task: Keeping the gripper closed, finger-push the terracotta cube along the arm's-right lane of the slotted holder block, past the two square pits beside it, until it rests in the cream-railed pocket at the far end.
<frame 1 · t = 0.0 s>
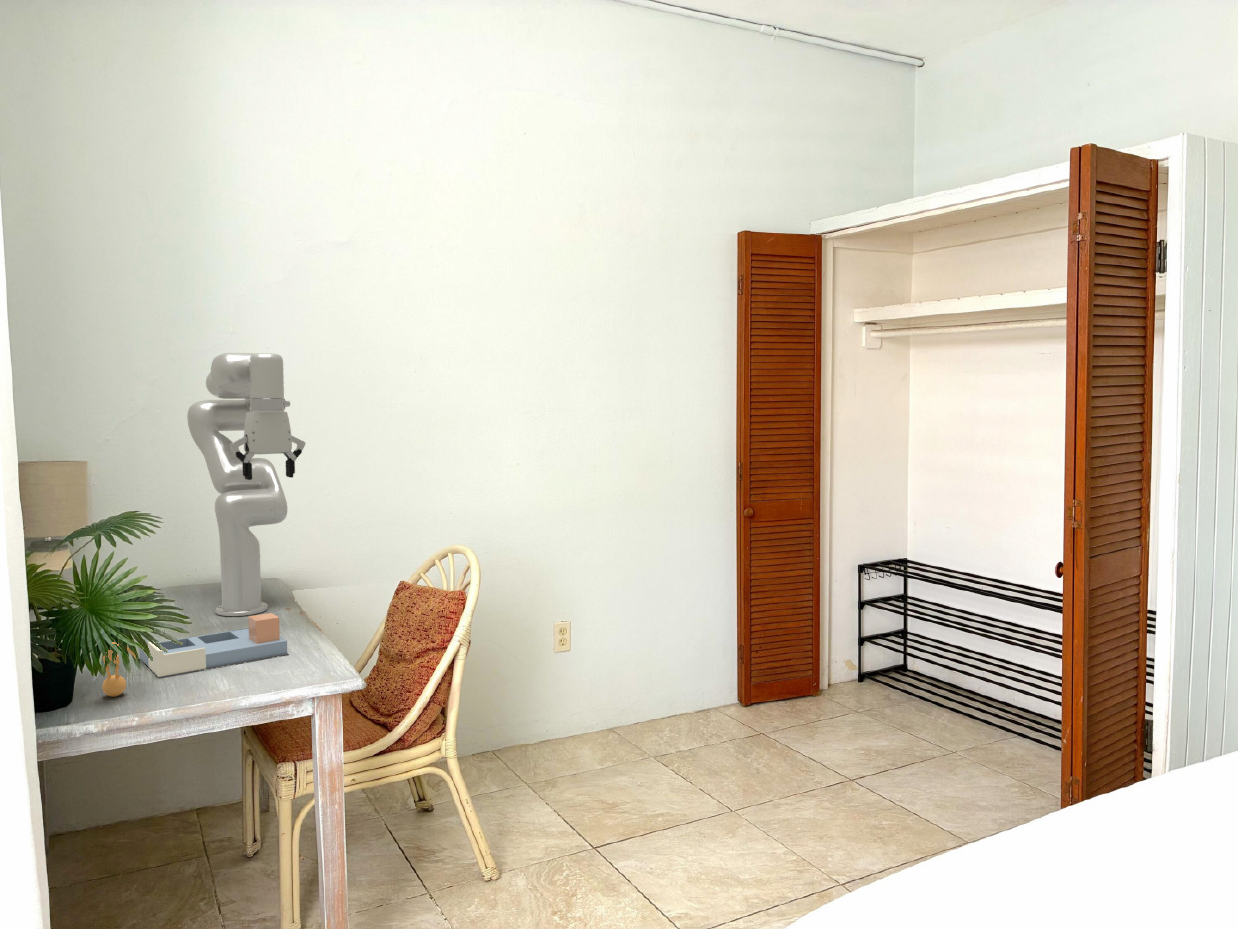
hand: (269, 478, 218), 37 cm above the table, tool pointing down, fingers open, 9 cm apart
cube: (264, 639, 202), point 3 cm above the table, touching slotted holder block
figurine: (113, 698, 173), on the table
slotted holder block: (214, 656, 200), on the table
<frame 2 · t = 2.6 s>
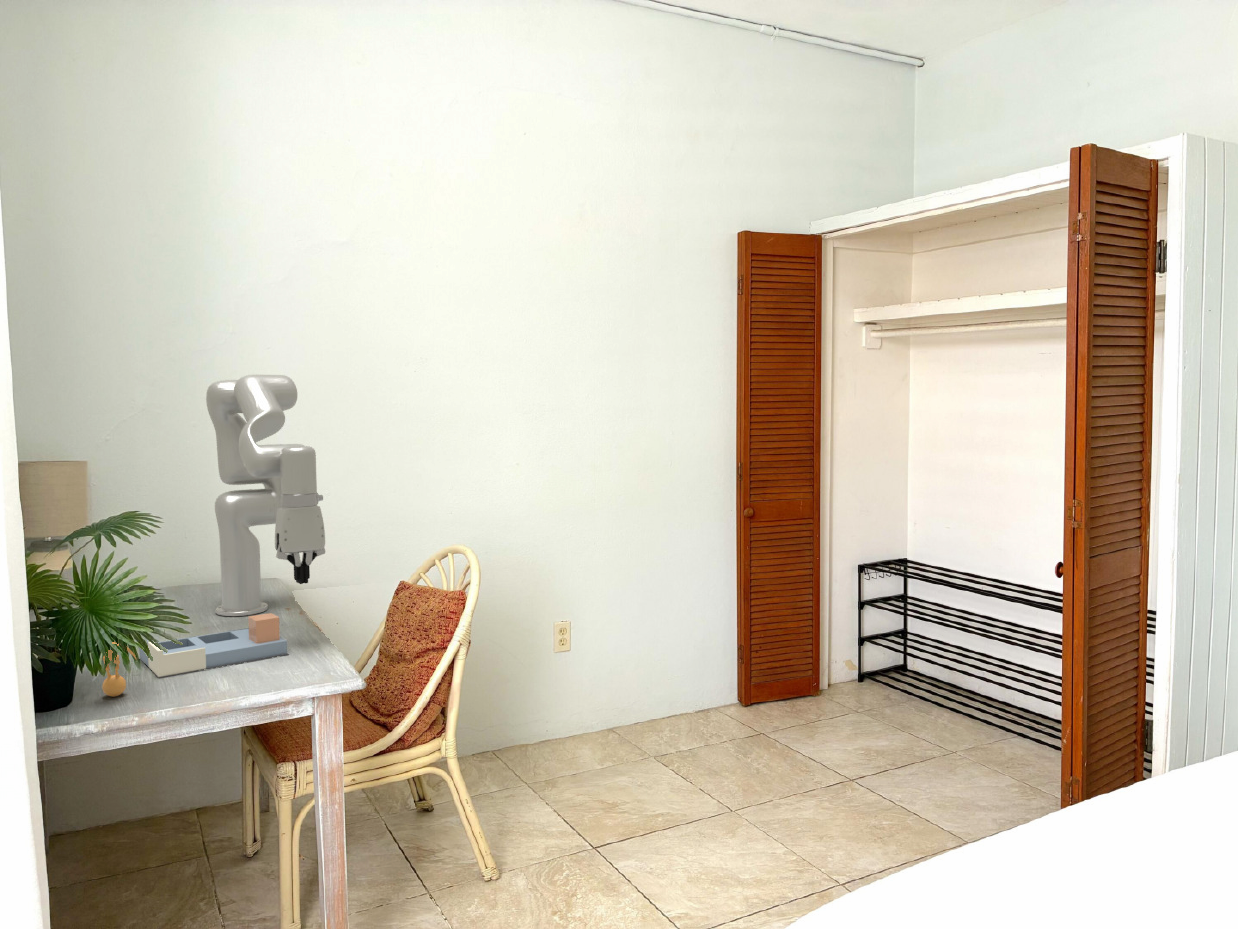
hand: (302, 582, 206), 15 cm above the table, tool pointing down, fingers closed
nothing on the table moved.
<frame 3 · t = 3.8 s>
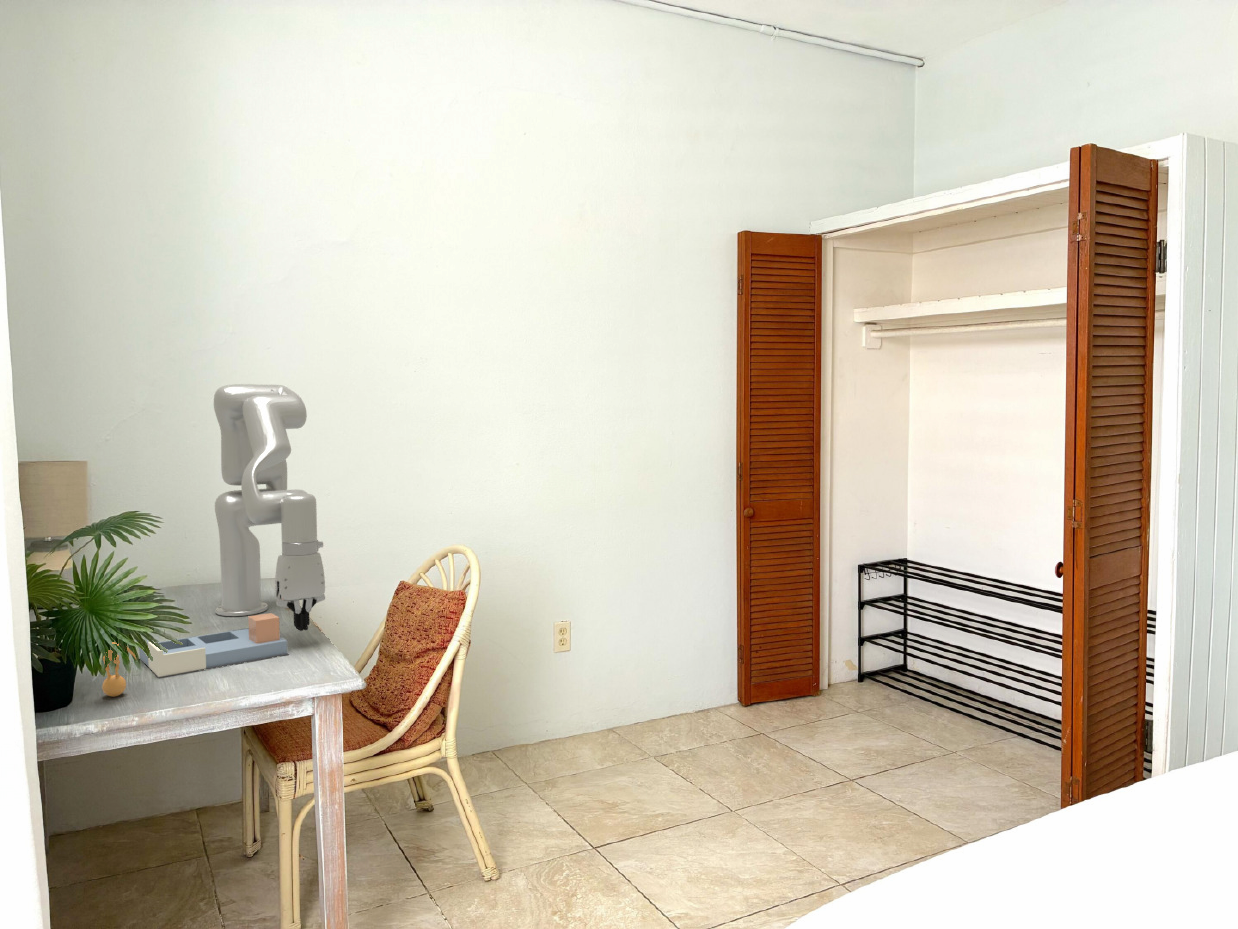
hand: (301, 629, 208), 4 cm above the table, tool pointing down, fingers closed
nothing on the table moved.
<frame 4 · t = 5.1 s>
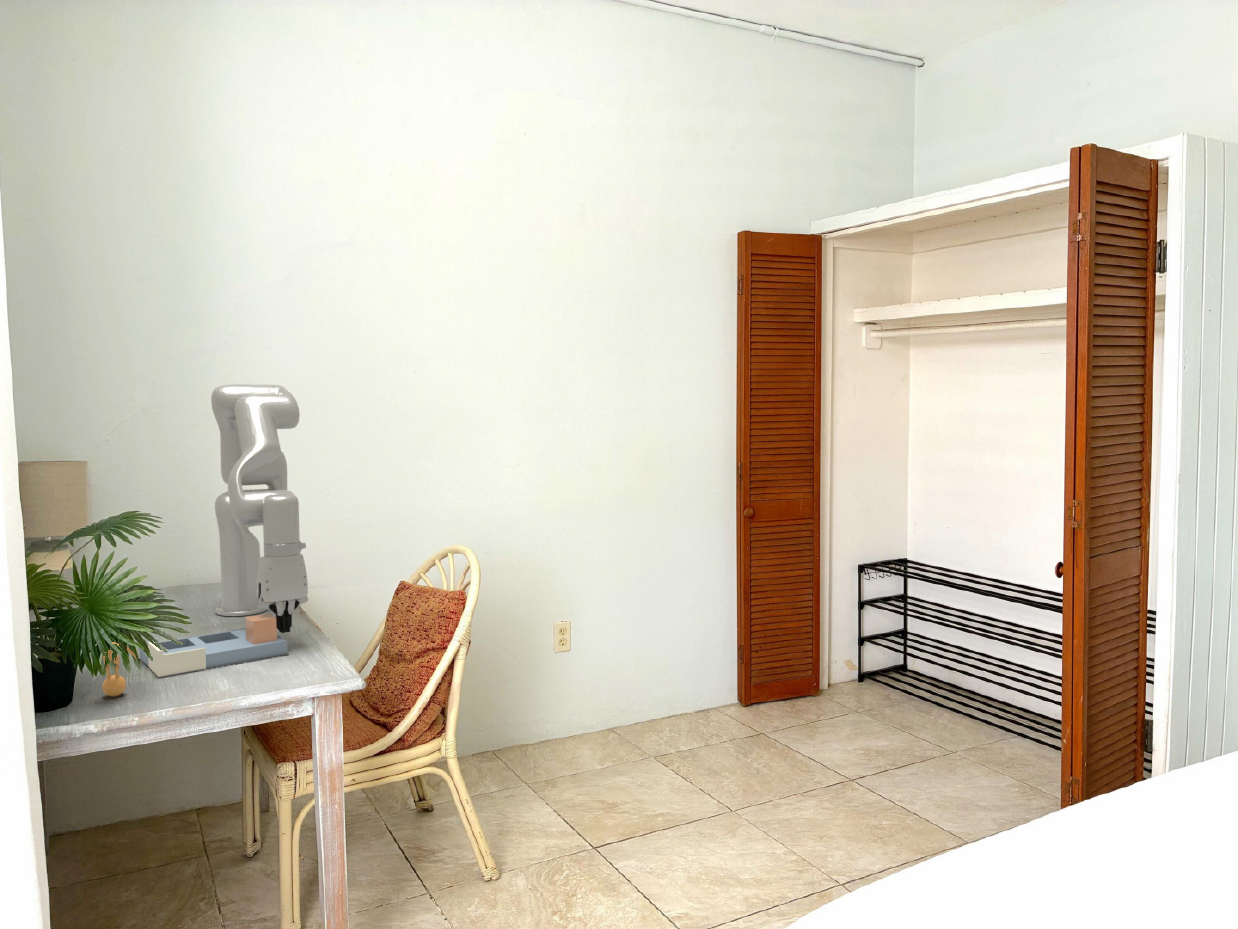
hand: (284, 631, 205), 4 cm above the table, tool pointing down, fingers closed
cube: (261, 639, 202), point 3 cm above the table, touching gripper
everything else where it was.
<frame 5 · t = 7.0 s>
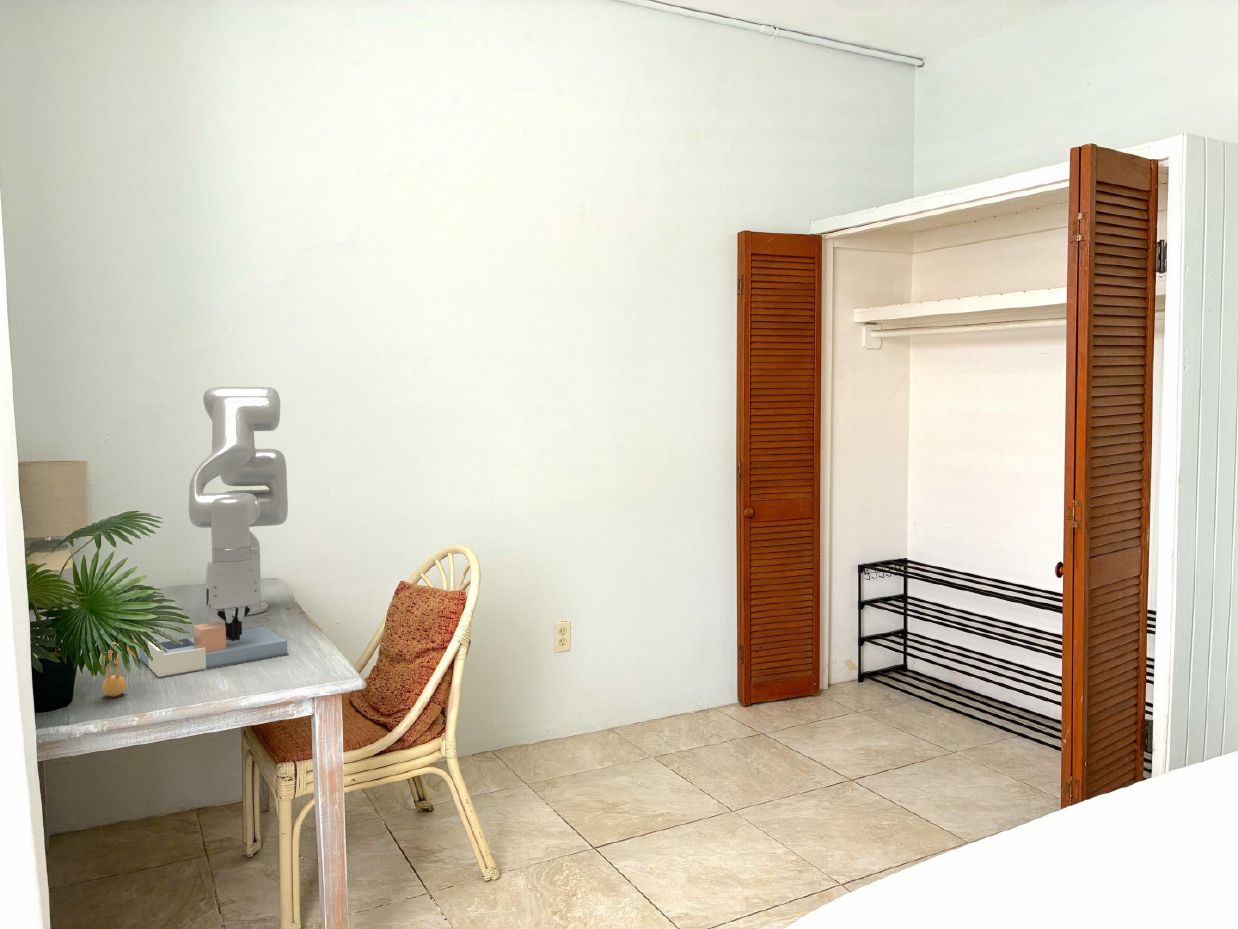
hand: (233, 639, 198), 4 cm above the table, tool pointing down, fingers closed
cube: (210, 649, 195), point 3 cm above the table, touching gripper
everything else where it was.
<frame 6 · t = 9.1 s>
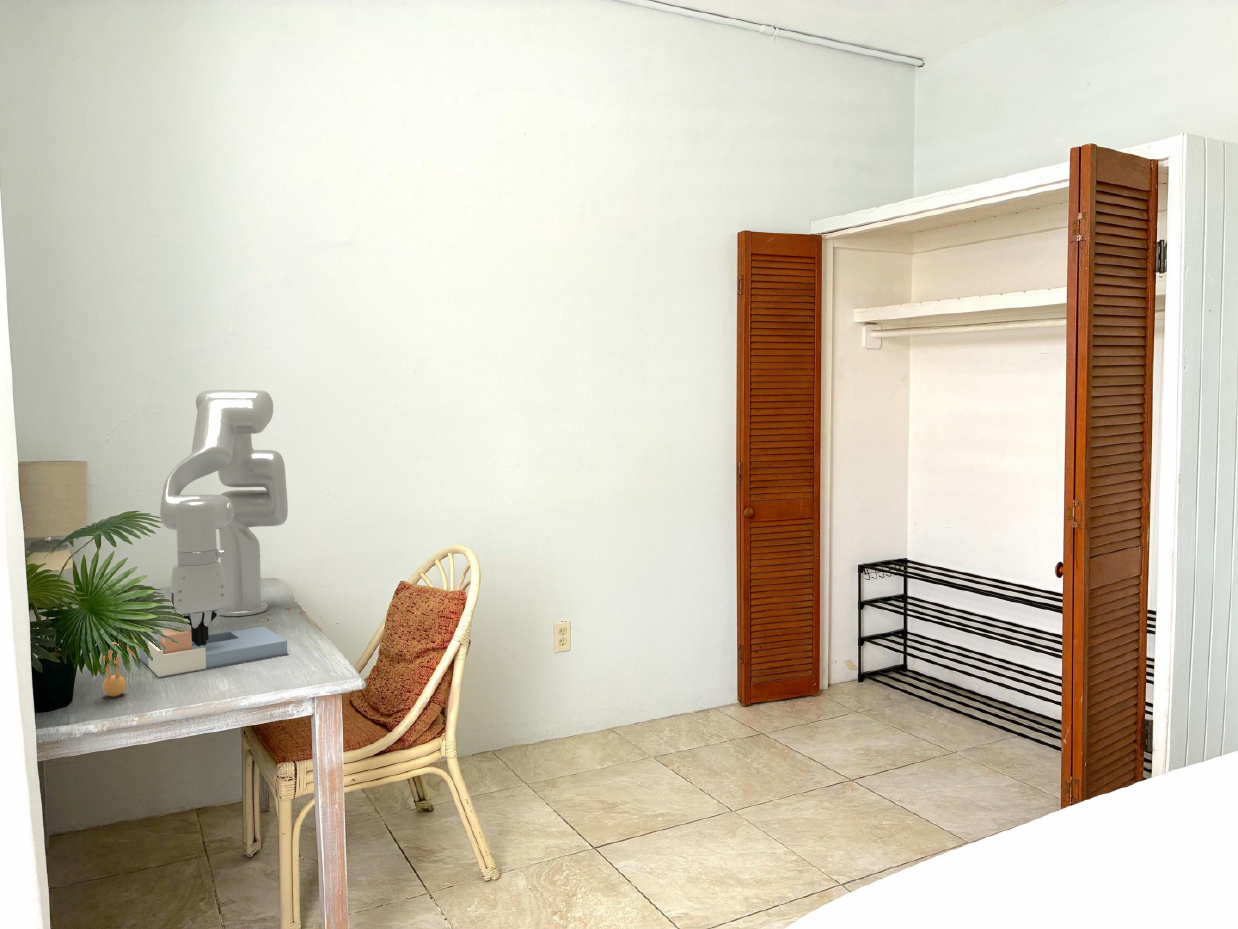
hand: (200, 644, 194), 4 cm above the table, tool pointing down, fingers closed
cube: (175, 655, 190), point 3 cm above the table, touching slotted holder block, gripper
everything else where it was.
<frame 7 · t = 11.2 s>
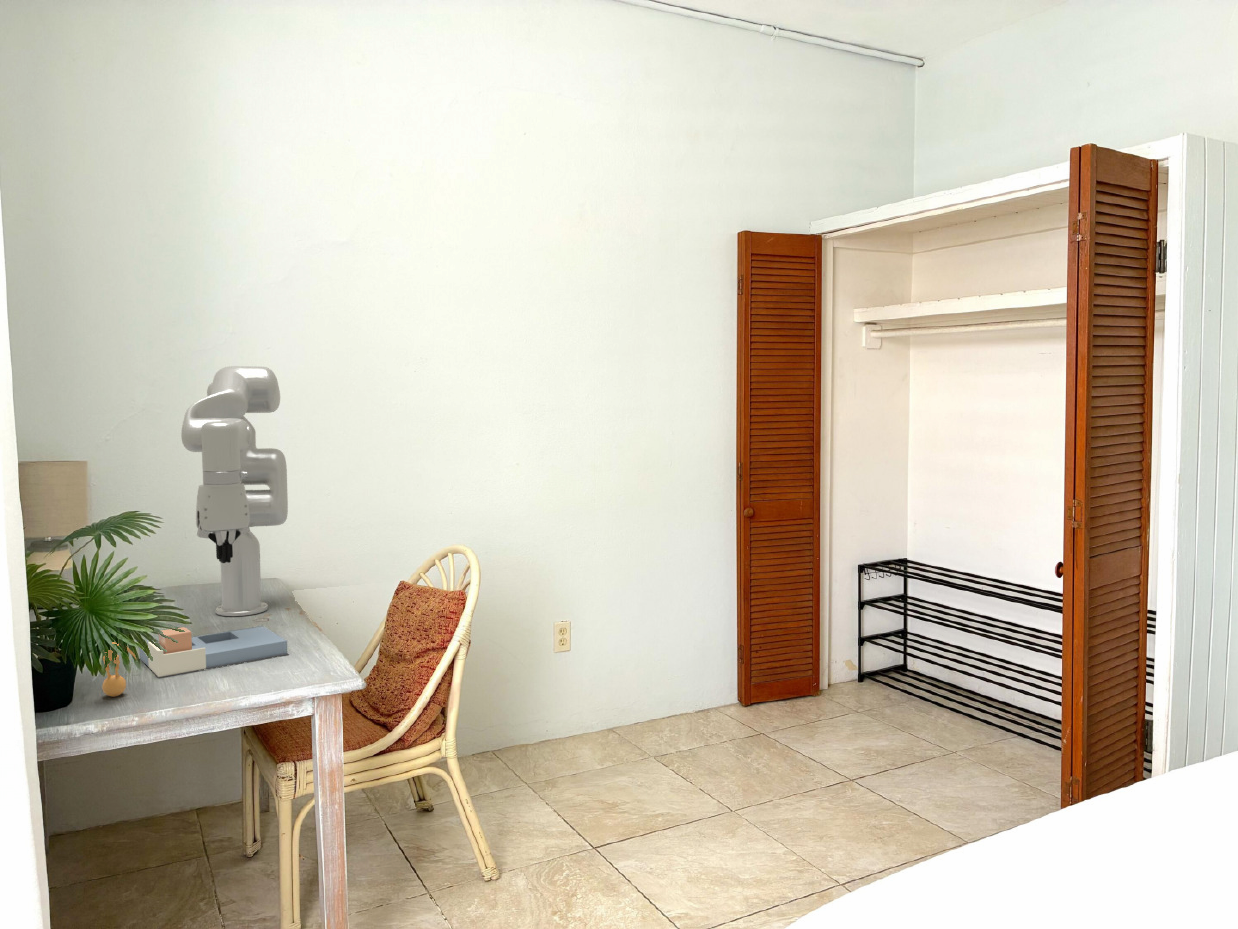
hand: (224, 561, 201), 20 cm above the table, tool pointing down, fingers closed
cube: (175, 655, 190), point 3 cm above the table, touching slotted holder block
everything else where it was.
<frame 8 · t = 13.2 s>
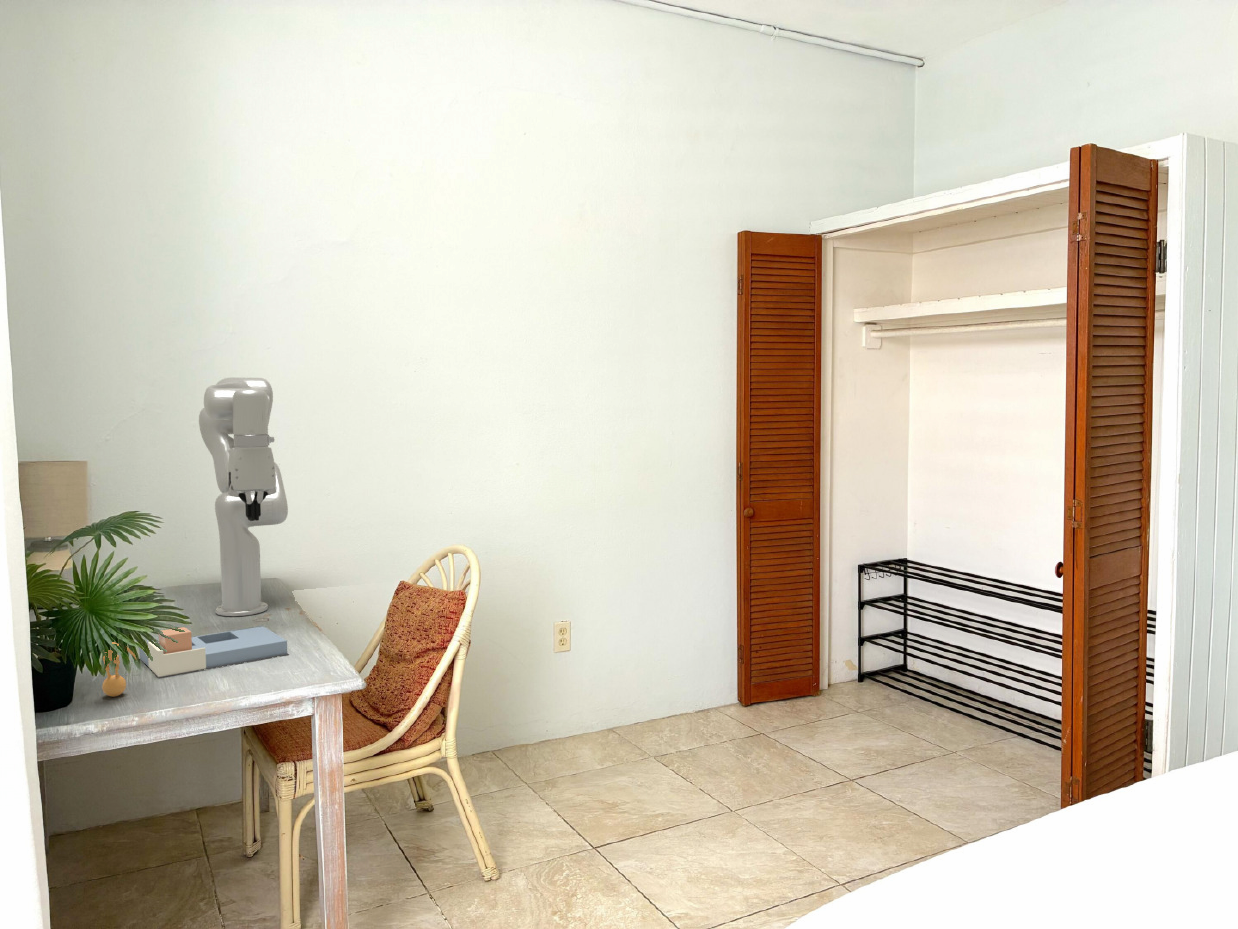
hand: (253, 519, 217), 27 cm above the table, tool pointing down, fingers closed
nothing on the table moved.
at the end: cube inside the target area on the slotted holder block (1.0 cm from its centre), point 3.0 cm above the slotted holder block's base; cube tilted 0° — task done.
